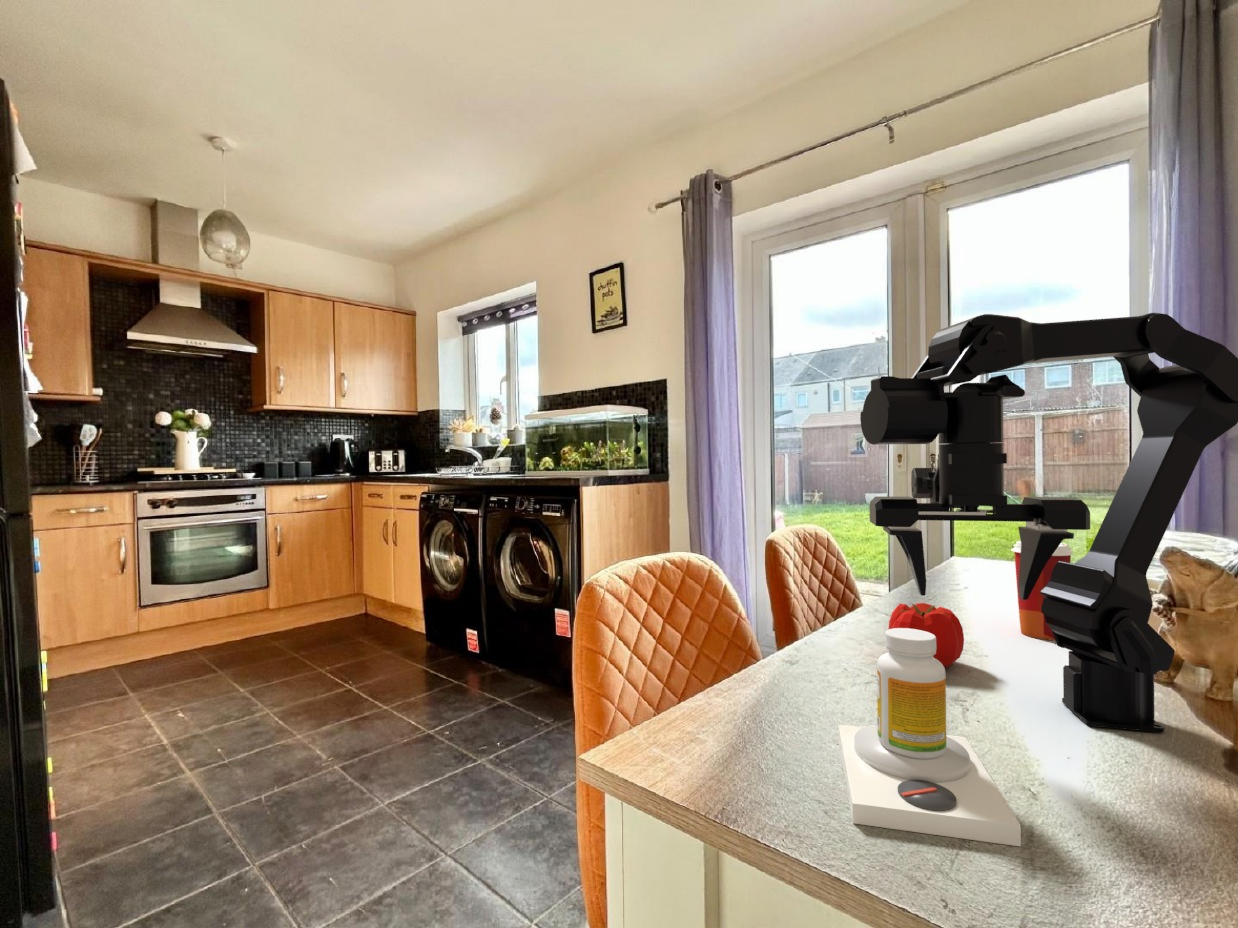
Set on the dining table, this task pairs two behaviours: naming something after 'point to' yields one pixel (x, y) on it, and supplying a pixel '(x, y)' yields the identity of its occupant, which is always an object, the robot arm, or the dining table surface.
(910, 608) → the tomato
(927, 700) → the supplement bottle
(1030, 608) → the paper cup
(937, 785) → the kitchen scale
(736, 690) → the dining table surface
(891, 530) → the robot arm
